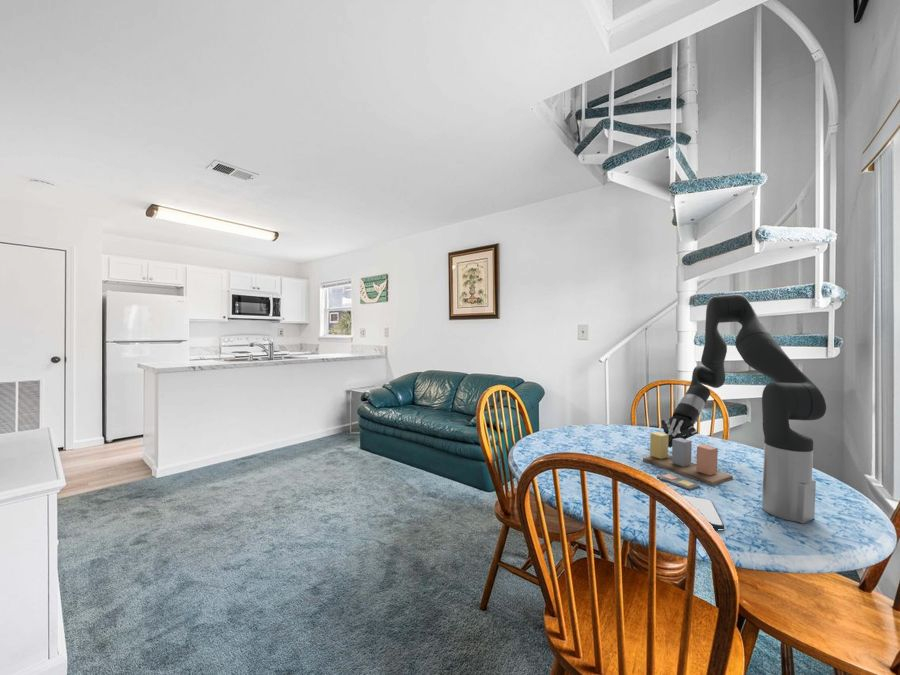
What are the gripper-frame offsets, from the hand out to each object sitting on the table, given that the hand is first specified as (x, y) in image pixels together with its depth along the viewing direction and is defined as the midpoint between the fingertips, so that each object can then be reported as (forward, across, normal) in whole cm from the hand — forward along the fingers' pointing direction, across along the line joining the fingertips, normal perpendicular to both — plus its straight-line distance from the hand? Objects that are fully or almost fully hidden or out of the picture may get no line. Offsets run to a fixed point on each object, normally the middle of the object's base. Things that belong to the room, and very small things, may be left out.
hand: (667, 445), depth 136 cm
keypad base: (+7, +10, 0) cm, 12 cm away
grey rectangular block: (+5, +8, -1) cm, 10 cm away
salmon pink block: (+5, +16, -1) cm, 17 cm away
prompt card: (+16, +15, -9) cm, 24 cm away
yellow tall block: (+5, 0, -1) cm, 6 cm away
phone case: (+26, +29, -19) cm, 43 cm away
